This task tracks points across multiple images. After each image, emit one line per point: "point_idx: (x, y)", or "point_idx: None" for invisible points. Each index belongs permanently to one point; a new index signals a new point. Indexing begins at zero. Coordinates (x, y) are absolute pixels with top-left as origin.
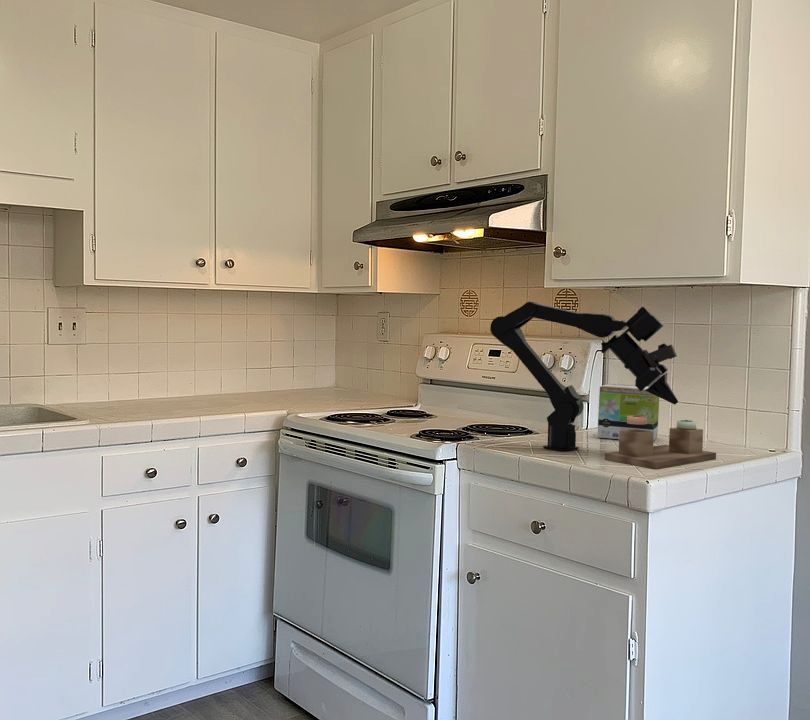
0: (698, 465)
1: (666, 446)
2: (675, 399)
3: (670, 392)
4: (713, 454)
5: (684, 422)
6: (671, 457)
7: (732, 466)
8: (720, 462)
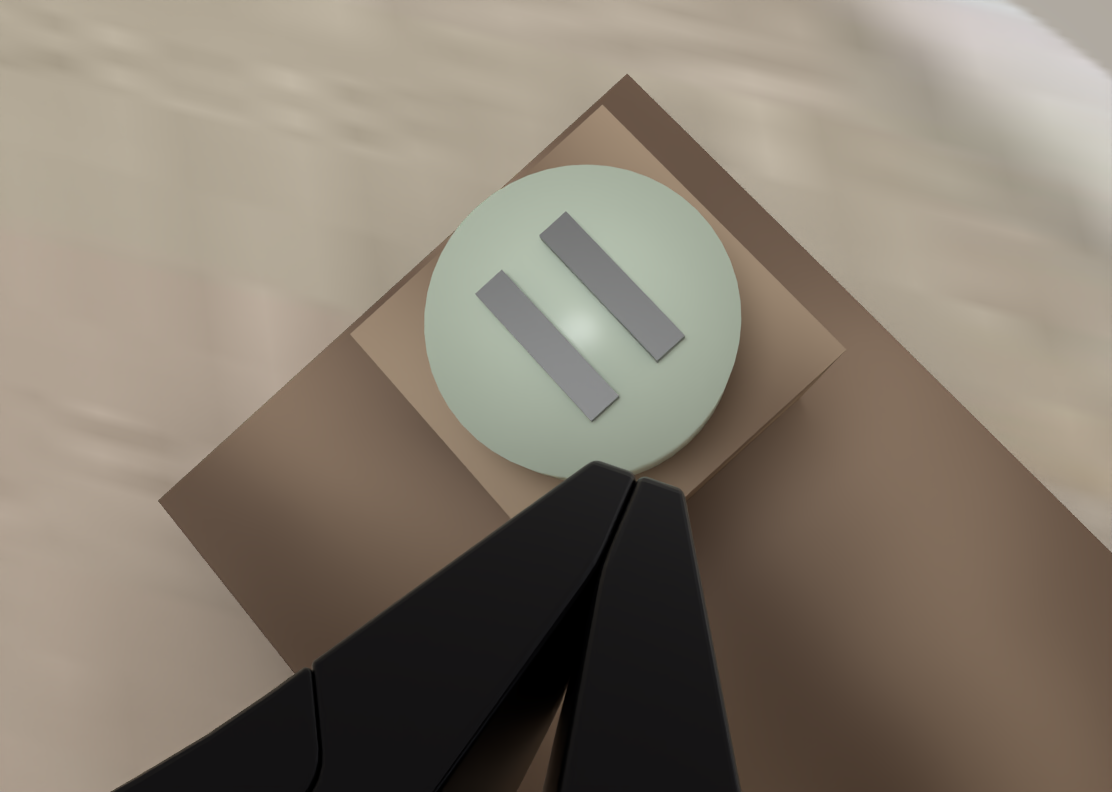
0: (1068, 379)
1: (284, 519)
2: (690, 563)
3: (733, 790)
4: (660, 114)
5: (720, 388)
6: (1089, 672)
7: (1041, 49)
8: (824, 107)
